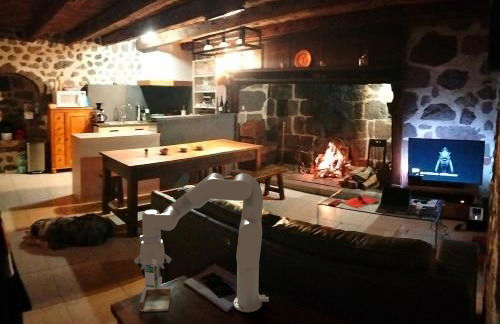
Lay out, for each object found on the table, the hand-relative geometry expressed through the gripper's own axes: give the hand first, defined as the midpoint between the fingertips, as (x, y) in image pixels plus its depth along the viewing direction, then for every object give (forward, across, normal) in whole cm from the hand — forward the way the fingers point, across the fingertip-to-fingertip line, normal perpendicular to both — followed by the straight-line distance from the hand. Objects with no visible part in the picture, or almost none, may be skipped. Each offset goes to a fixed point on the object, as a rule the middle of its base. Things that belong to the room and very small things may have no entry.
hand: (153, 275), depth 179 cm
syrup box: (+5, 0, 0) cm, 5 cm away
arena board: (+13, +1, 0) cm, 13 cm away
